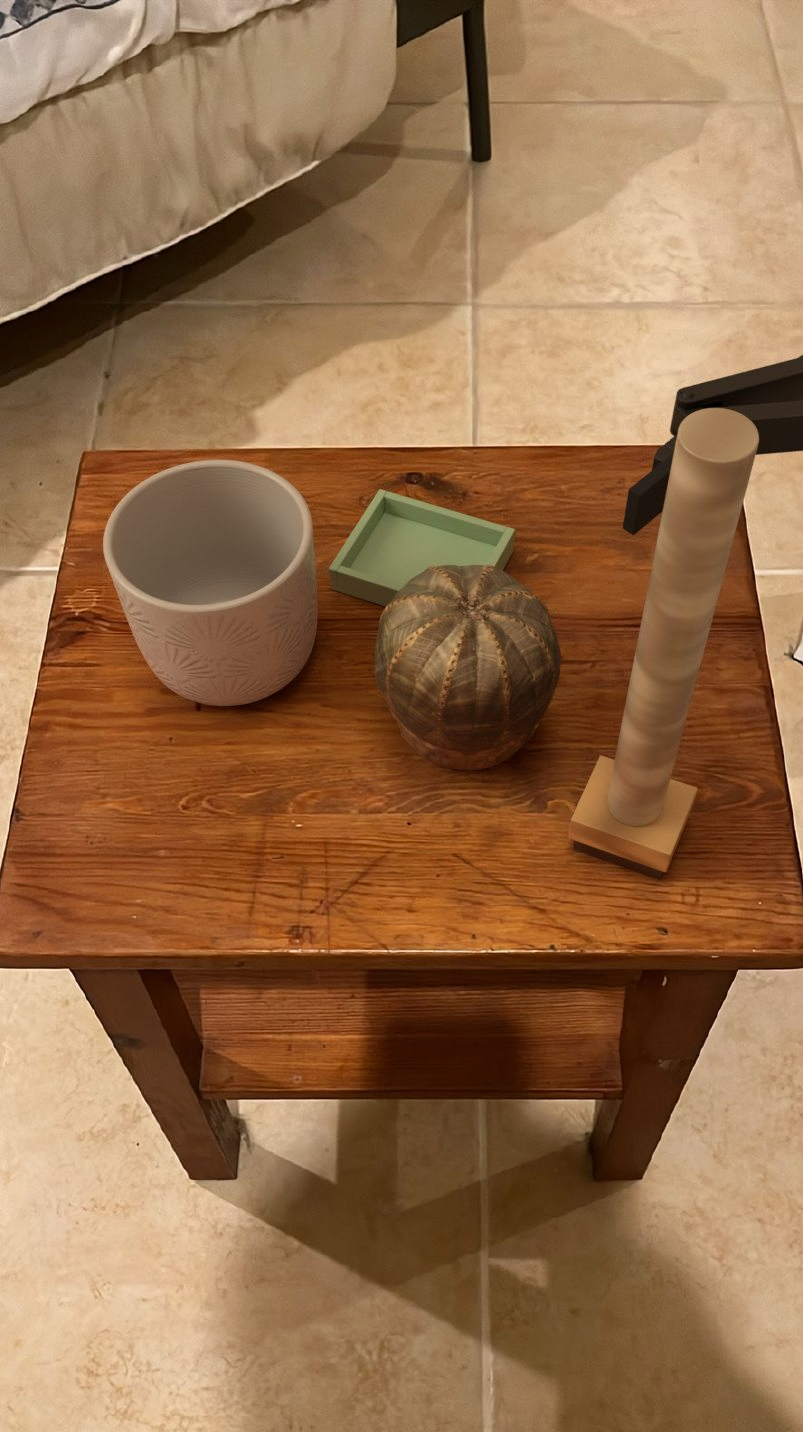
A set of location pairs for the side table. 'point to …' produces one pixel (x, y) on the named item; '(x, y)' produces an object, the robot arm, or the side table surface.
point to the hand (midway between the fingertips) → (737, 580)
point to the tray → (412, 546)
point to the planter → (216, 578)
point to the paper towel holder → (669, 649)
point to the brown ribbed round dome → (466, 664)
